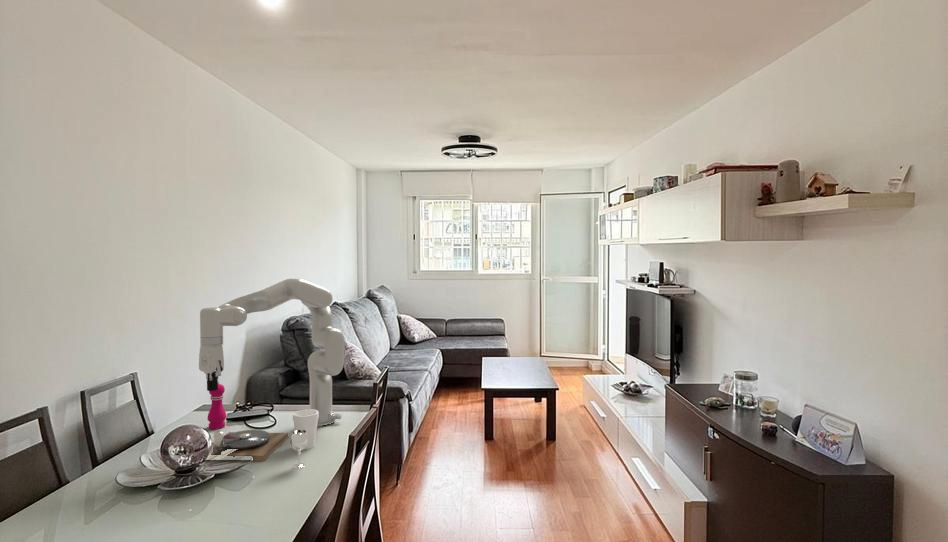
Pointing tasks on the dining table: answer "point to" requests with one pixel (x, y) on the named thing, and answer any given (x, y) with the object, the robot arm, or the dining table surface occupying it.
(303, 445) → the wineglass
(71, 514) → the dining table surface
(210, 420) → the pepper mill
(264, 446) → the brown flat board
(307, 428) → the foam cup
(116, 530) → the dining table surface
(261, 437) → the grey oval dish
